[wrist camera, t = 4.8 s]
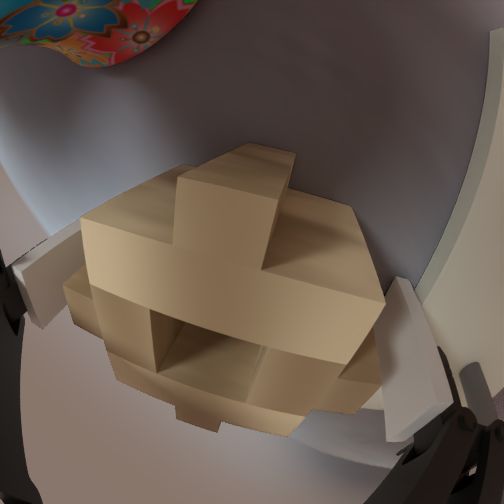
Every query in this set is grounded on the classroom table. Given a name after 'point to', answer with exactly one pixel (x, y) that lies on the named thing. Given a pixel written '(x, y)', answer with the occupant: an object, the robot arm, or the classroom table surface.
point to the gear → (232, 294)
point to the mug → (90, 26)
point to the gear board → (473, 264)
